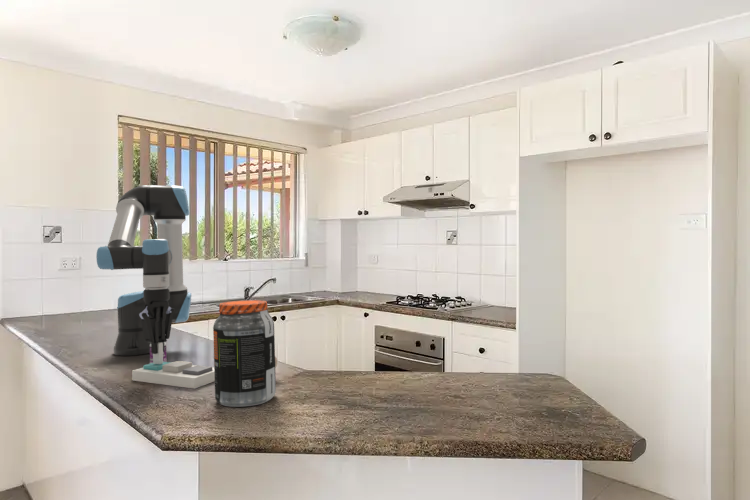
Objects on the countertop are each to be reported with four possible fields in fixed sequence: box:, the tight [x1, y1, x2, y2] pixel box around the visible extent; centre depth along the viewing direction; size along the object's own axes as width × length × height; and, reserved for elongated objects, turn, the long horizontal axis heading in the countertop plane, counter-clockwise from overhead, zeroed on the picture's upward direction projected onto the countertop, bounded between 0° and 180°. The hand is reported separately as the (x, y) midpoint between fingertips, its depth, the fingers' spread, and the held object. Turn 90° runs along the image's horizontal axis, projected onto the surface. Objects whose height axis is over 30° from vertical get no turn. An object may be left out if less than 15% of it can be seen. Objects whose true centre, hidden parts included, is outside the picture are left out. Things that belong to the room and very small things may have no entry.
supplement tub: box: [212, 299, 277, 408], centre depth 136 cm, size 16×16×26 cm
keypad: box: [131, 364, 215, 389], centre depth 158 cm, size 12×25×3 cm, turn 66°
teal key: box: [142, 361, 172, 371], centre depth 161 cm, size 6×6×3 cm
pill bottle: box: [149, 341, 168, 364], centre depth 178 cm, size 5×5×10 cm
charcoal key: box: [182, 364, 213, 375], centre depth 154 cm, size 6×6×3 cm
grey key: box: [163, 360, 193, 373], centre depth 158 cm, size 6×6×3 cm
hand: (158, 363), depth 161 cm, fingers closed
